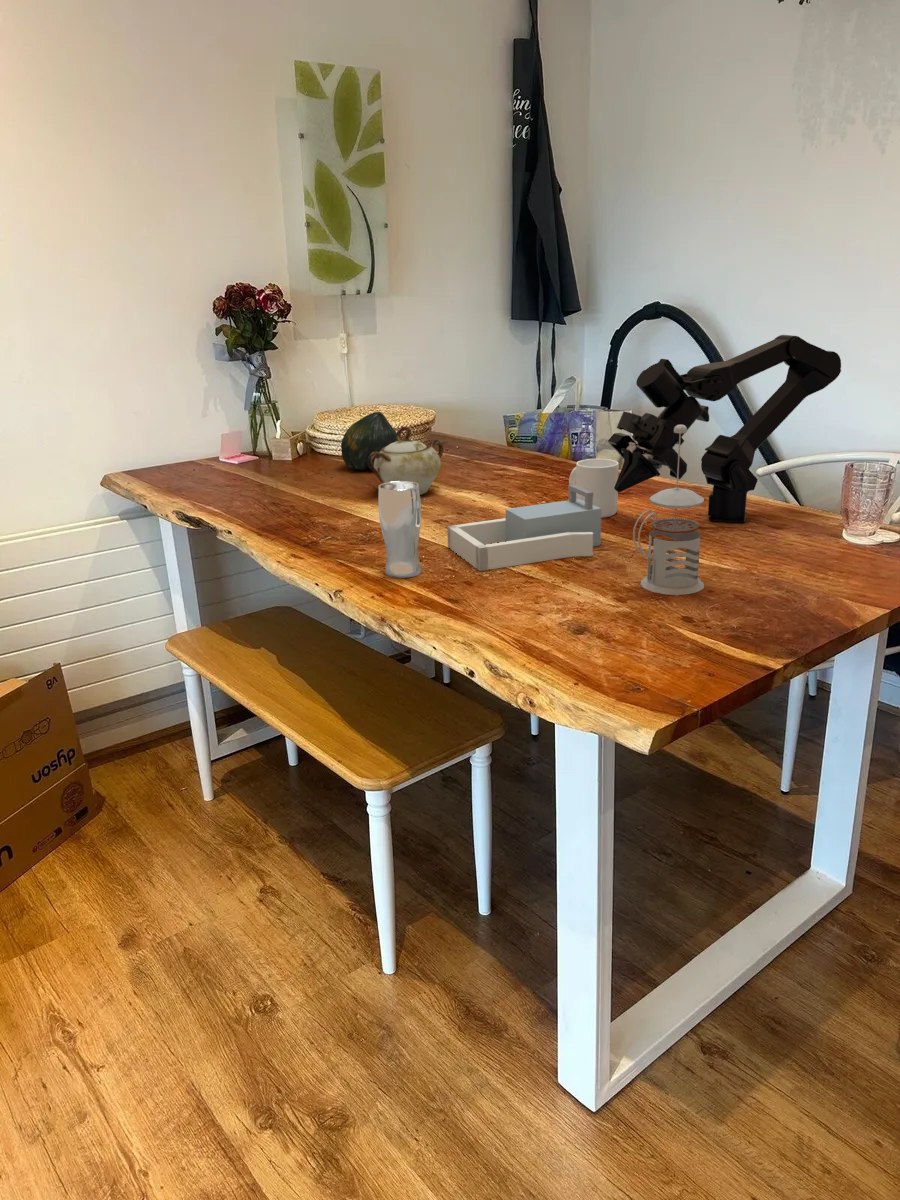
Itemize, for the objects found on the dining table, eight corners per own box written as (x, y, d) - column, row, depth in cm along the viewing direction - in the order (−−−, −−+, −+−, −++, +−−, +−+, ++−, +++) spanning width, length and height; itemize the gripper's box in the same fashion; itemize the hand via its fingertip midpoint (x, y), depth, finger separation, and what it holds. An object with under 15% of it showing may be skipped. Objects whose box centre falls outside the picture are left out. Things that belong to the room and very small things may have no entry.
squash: (324, 446, 231) (345, 405, 221) (370, 440, 241) (393, 400, 230) (350, 489, 227) (373, 449, 216) (396, 480, 237) (420, 442, 226)
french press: (717, 589, 139) (728, 426, 130) (648, 599, 136) (656, 433, 127) (683, 570, 147) (692, 417, 139) (619, 579, 145) (624, 423, 136)
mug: (555, 509, 187) (555, 459, 183) (585, 502, 191) (585, 454, 187) (595, 520, 177) (596, 469, 174) (625, 513, 182) (627, 462, 178)
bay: (548, 530, 172) (548, 509, 171) (595, 555, 156) (595, 533, 155) (445, 545, 165) (444, 524, 164) (483, 573, 150) (482, 550, 148)
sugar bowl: (388, 506, 194) (384, 436, 189) (354, 493, 205) (349, 427, 200) (462, 491, 204) (460, 424, 199) (426, 480, 216) (423, 417, 210)
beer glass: (375, 577, 150) (369, 489, 145) (393, 564, 156) (387, 479, 151) (414, 581, 147) (409, 491, 142) (430, 567, 154) (426, 481, 148)
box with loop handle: (578, 535, 169) (579, 482, 166) (600, 546, 162) (601, 492, 159) (506, 546, 164) (505, 492, 161) (525, 558, 157) (524, 502, 154)
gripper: (618, 389, 168) (565, 453, 169) (676, 401, 152) (616, 472, 152) (652, 427, 174) (600, 490, 174) (712, 443, 157) (654, 512, 158)
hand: (616, 490), depth 164 cm, fingers closed
